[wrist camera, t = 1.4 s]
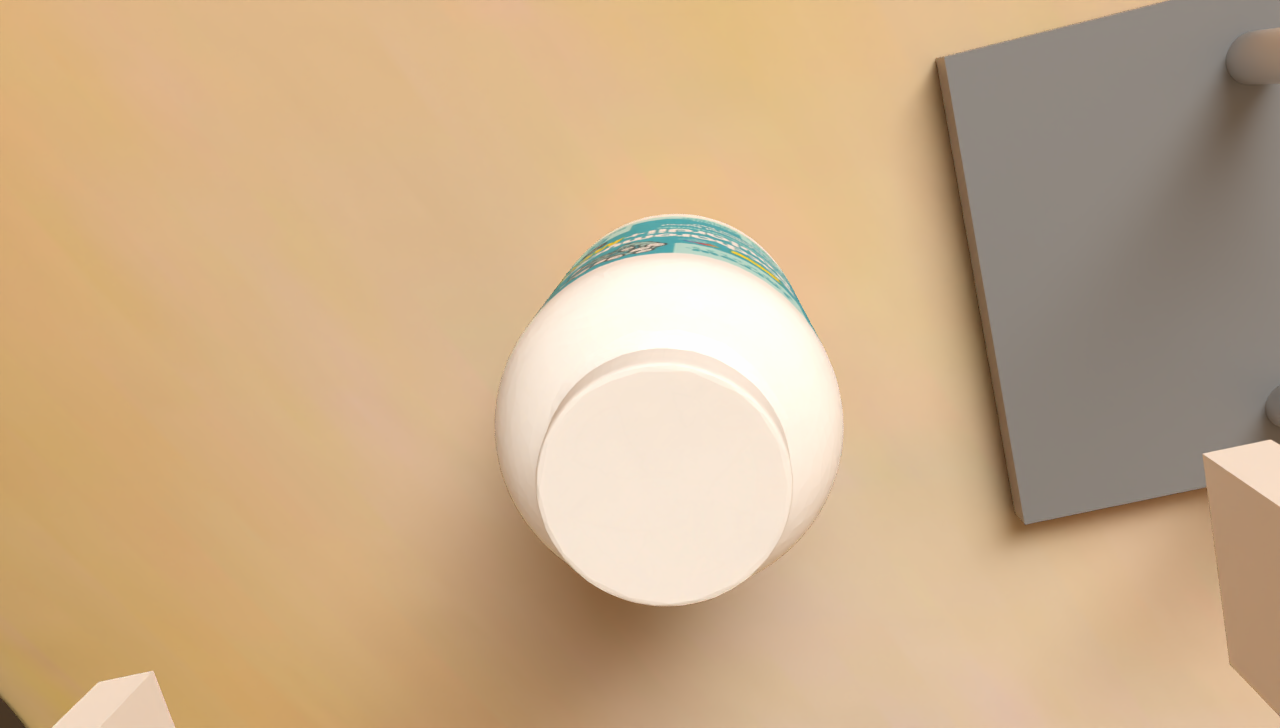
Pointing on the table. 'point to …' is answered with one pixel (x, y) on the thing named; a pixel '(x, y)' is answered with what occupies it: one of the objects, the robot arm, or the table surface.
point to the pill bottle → (670, 413)
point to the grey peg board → (1124, 244)
